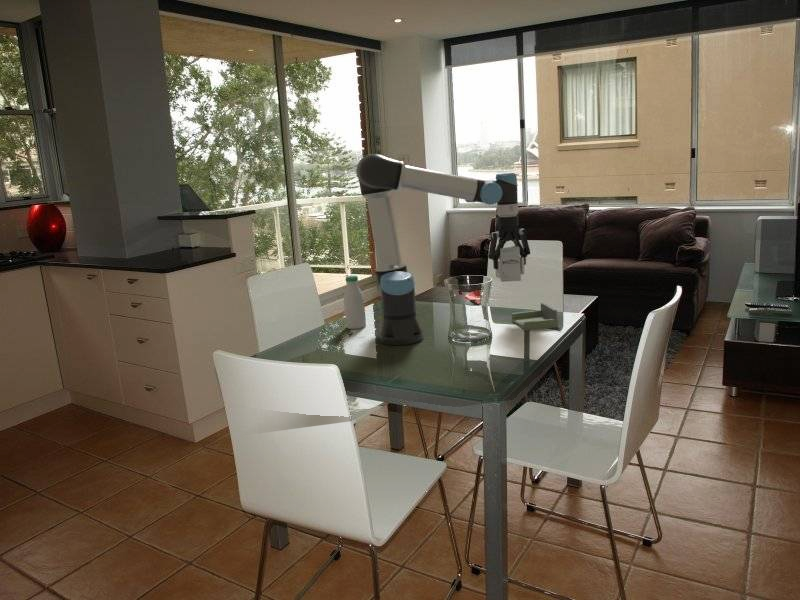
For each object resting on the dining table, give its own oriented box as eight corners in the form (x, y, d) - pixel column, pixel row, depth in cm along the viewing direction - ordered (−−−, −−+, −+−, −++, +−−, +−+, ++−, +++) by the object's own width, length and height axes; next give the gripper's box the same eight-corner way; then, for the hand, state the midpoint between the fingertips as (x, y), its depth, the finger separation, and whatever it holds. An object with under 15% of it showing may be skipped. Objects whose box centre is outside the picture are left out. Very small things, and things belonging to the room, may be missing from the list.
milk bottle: (365, 328, 248) (360, 277, 244) (345, 330, 248) (340, 279, 244) (366, 323, 256) (362, 273, 251) (347, 325, 256) (342, 275, 252)
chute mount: (525, 331, 228) (524, 314, 227) (511, 321, 243) (511, 305, 241) (558, 327, 230) (557, 310, 228) (542, 317, 244) (542, 302, 243)
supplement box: (501, 282, 240) (499, 248, 238) (499, 278, 248) (498, 245, 245) (521, 281, 240) (519, 247, 237) (519, 277, 247) (517, 244, 244)
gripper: (486, 219, 231) (488, 281, 236) (539, 213, 239) (540, 273, 243) (476, 218, 238) (479, 278, 243) (528, 212, 245) (530, 270, 250)
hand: (510, 275), depth 243 cm, fingers closed on supplement box, 9 cm apart
